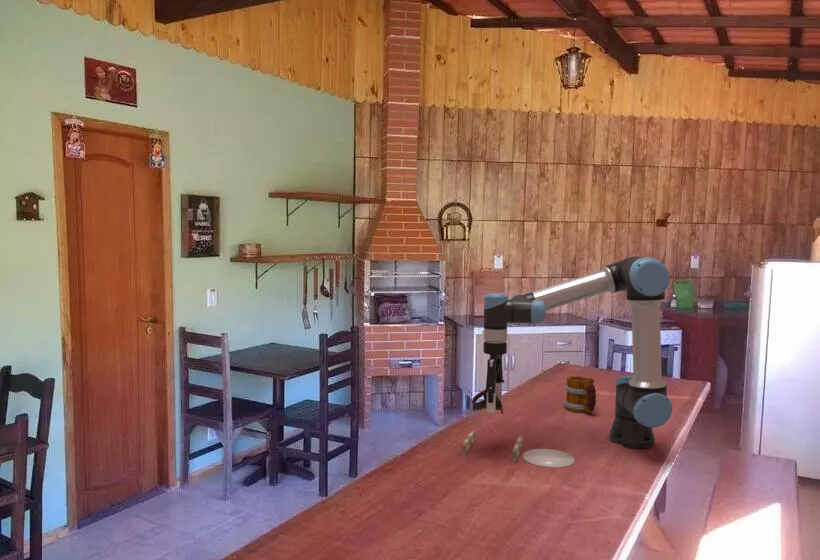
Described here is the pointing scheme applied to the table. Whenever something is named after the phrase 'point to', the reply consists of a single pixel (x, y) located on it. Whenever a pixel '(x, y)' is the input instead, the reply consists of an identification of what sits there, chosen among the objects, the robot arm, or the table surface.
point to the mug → (580, 394)
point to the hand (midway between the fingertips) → (494, 407)
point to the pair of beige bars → (471, 439)
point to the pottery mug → (485, 402)
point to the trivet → (548, 458)
